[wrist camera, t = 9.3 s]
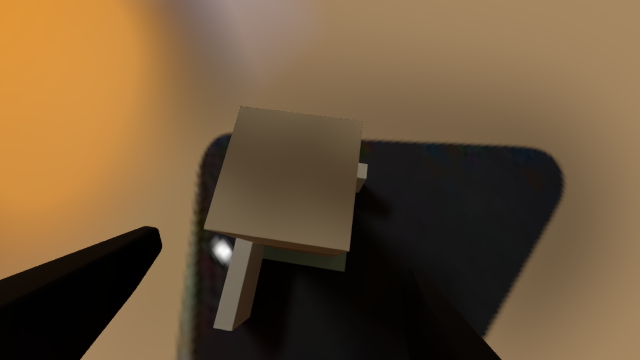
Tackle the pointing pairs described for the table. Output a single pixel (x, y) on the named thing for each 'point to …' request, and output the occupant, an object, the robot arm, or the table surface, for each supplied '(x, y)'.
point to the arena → (247, 269)
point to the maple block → (289, 181)
